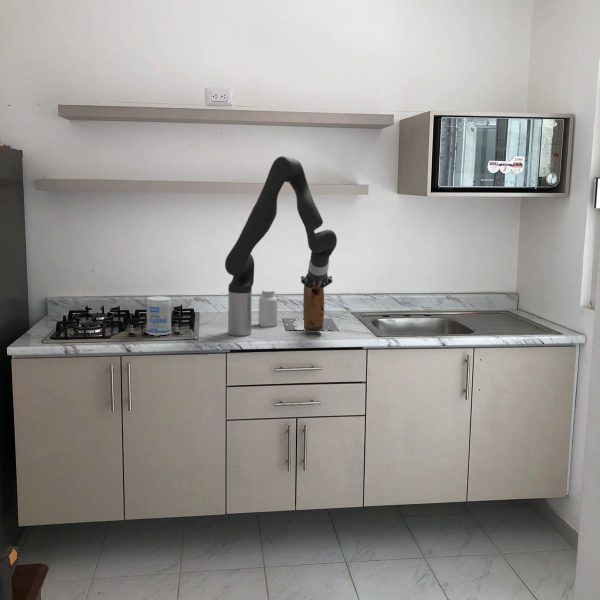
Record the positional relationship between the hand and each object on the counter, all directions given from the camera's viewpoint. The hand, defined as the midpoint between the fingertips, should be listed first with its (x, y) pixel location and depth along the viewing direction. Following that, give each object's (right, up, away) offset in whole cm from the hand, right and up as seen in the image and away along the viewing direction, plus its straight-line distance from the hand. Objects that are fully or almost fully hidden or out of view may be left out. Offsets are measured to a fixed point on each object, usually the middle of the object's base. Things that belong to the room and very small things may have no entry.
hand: (314, 291), depth 300 cm
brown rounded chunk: (0, -15, +1) cm, 16 cm away
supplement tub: (-62, -17, -4) cm, 64 cm away
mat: (-2, -14, +19) cm, 23 cm away
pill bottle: (-20, -14, +17) cm, 29 cm away
